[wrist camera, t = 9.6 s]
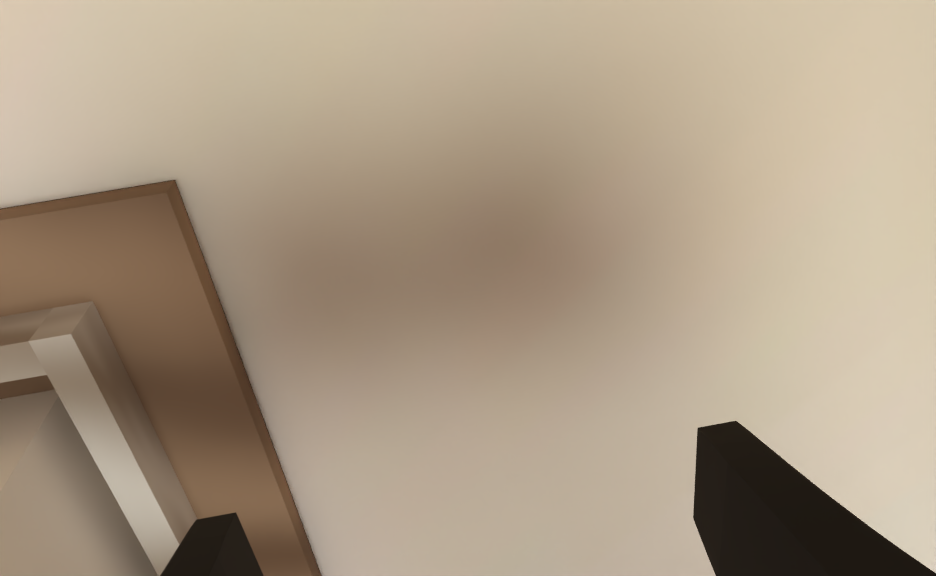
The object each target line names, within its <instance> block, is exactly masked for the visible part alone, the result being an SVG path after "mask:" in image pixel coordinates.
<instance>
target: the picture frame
mask: <svg viewBox="0 0 936 576" xmlns="http://www.w3.org/2000/svg"><path fill="white" fill-rule="evenodd" d="M50 390H56V392H57V394H58V396H59V398H60V399H61V401H62V403H63V405H64V407H65V408H66V410H67V412H68V414H69V416H70V417H71V419H72V421H73V423H74V425H75V426H76V428H77V430H78V432H79V434H80V435H81V437H82V439H83V441H84V443H85V444H86V446H87V448H88V450H89V452H90V453H91V455H92V457H93V459H94V461H95V462H96V464H97V466H98V468H99V470H100V471H101V473H102V475H103V477H104V479H105V480H106V482H107V484H108V486H109V488H110V489H111V491H112V493H113V495H114V497H115V498H116V500H117V502H118V504H119V506H120V507H121V509H122V511H123V513H124V515H125V516H126V518H127V520H128V522H129V524H130V526H131V527H132V529H133V531H134V533H135V535H136V536H137V538H138V540H139V542H140V544H141V545H142V547H143V549H144V551H145V553H146V554H147V556H148V558H149V560H150V562H151V563H152V565H153V567H154V569H155V571H156V572H157V574H158V576H160V575H161V573H162V572H163V570H164V569H165V567H166V565H167V564H168V562H169V561H170V559H171V557H172V556H173V554H174V553H175V551H176V549H177V548H178V546H179V545H180V543H181V542H182V540H183V538H184V537H185V535H186V534H187V532H188V531H189V529H190V527H191V526H192V525H193V523H194V522H195V521H196V520H197V519H202V518H208V517H213V516H219V515H224V514H230V513H235V512H236V513H237V516H238V518H239V520H240V523H241V525H242V527H243V529H244V532H245V534H246V536H247V539H248V541H249V543H250V545H251V548H252V550H253V552H254V555H255V557H256V559H257V562H258V564H259V566H260V568H261V571H262V573H263V575H264V576H321V574H320V571H319V569H318V566H317V563H316V561H315V558H314V555H313V552H312V550H311V547H310V544H309V542H308V539H307V536H306V533H305V531H304V528H303V525H302V523H301V520H300V517H299V515H298V512H297V509H296V506H295V504H294V501H293V498H292V496H291V493H290V490H289V488H288V485H287V482H286V479H285V477H284V474H283V471H282V469H281V466H280V463H279V461H278V458H277V455H276V452H275V450H274V447H273V444H272V442H271V439H270V436H269V434H268V431H267V428H266V425H265V423H264V420H263V417H262V415H261V412H260V409H259V407H258V404H257V401H256V398H255V396H254V393H253V390H252V388H251V385H250V382H249V380H248V377H247V374H246V371H245V369H244V366H243V363H242V361H241V358H240V355H239V352H238V350H237V347H236V344H235V342H234V339H233V336H232V334H231V331H230V328H229V325H228V323H227V320H226V317H225V315H224V312H223V309H222V307H221V304H220V301H219V298H218V296H217V293H216V290H215V288H214V285H213V282H212V280H211V277H210V274H209V271H208V269H207V266H206V263H205V261H204V258H203V255H202V253H201V250H200V247H199V244H198V242H197V239H196V236H195V234H194V231H193V228H192V226H191V223H190V220H189V217H188V215H187V212H186V209H185V207H184V204H183V201H182V199H181V196H180V193H179V190H178V188H177V185H176V182H175V180H173V181H167V182H161V183H155V184H149V185H143V186H137V187H131V188H125V189H119V190H113V191H107V192H101V193H95V194H89V195H83V196H77V197H71V198H65V199H59V200H53V201H47V202H41V203H35V204H29V205H23V206H17V207H11V208H5V209H0V399H5V398H11V397H16V396H22V395H28V394H33V393H39V392H45V391H50Z"/></svg>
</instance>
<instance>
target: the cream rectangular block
mask: <svg viewBox="0 0 936 576" xmlns="http://www.w3.org/2000/svg"><path fill="white" fill-rule="evenodd" d="M0 576H158V574H157V572H156V571H155V569H154V567H153V565H152V563H151V562H150V560H149V558H148V556H147V554H146V553H145V551H144V549H143V547H142V545H141V544H140V542H139V540H138V538H137V536H136V535H135V533H134V531H133V529H132V527H131V526H130V524H129V522H128V520H127V518H126V516H125V515H124V513H123V511H122V509H121V507H120V506H119V504H118V502H117V500H116V498H115V497H114V495H113V493H112V491H111V489H110V488H109V486H108V484H107V482H106V480H105V479H104V477H103V475H102V473H101V471H100V470H99V468H98V466H97V464H96V462H95V461H94V459H93V457H92V455H91V453H90V452H89V450H88V448H87V446H86V444H85V443H84V441H83V439H82V437H81V435H80V434H79V432H78V430H77V428H76V426H75V425H74V423H73V421H72V419H71V417H70V416H69V414H68V412H67V410H66V408H65V407H64V405H63V403H62V401H61V399H60V398H59V396H58V394H57V392H56V390H50V391H45V392H39V393H33V394H28V395H22V396H16V397H11V398H5V399H0Z"/></svg>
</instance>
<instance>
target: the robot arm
mask: <svg viewBox="0 0 936 576" xmlns="http://www.w3.org/2000/svg"><path fill="white" fill-rule="evenodd" d="M693 519H694V521H695V524H696V526H697V529H698V532H699V534H700V537H701V539H702V542H703V545H704V547H705V550H706V552H707V555H708V557H709V560H710V562H711V565H712V567H713V570H714V572H715V574H716V576H936V573H935V572H933V571H932V570H930V569H929V568H927V567H926V566H924V565H923V564H921V563H920V562H919V561H917V560H916V559H914V558H913V557H911V556H910V555H908V554H907V553H906V552H904V551H903V550H901V549H900V548H898V547H897V546H895V545H894V544H893V543H891V542H890V541H889V540H887V539H886V538H884V537H883V536H882V535H880V534H879V533H878V532H876V531H875V530H873V529H872V528H871V527H869V526H868V525H867V524H865V523H864V522H863V521H861V520H860V519H859V518H857V517H856V516H855V515H854V514H852V513H851V512H850V511H848V510H847V509H846V508H844V507H843V506H842V505H840V504H839V503H838V502H836V501H835V500H834V499H832V498H831V497H830V496H829V495H827V494H826V493H825V492H823V491H822V490H821V489H820V488H818V487H817V486H816V485H815V484H813V483H812V482H811V481H810V480H808V479H807V478H806V477H805V476H803V475H802V474H801V473H800V472H798V471H797V470H796V469H795V468H793V467H792V466H791V465H790V464H788V463H787V462H786V461H785V460H784V459H782V458H781V457H780V456H779V455H778V454H776V453H775V452H774V451H773V450H771V449H770V448H769V447H768V446H767V445H765V444H764V443H763V442H762V441H761V440H759V439H758V438H757V437H756V436H754V435H753V434H752V433H751V432H750V431H748V430H747V429H746V428H745V427H743V426H742V425H741V424H740V423H738V422H737V421H733V422H727V423H722V424H716V425H711V426H705V427H700V428H698V433H697V454H696V474H695V495H694V515H693ZM160 576H264V575H263V573H262V571H261V568H260V566H259V564H258V562H257V559H256V557H255V555H254V552H253V550H252V548H251V545H250V543H249V541H248V539H247V536H246V534H245V532H244V529H243V527H242V525H241V523H240V520H239V518H238V516H237V513H236V512H235V513H230V514H224V515H219V516H213V517H208V518H202V519H197V520H196V521H195V522H194V523H193V525H192V526H191V527H190V529H189V531H188V532H187V534H186V535H185V537H184V538H183V540H182V542H181V543H180V545H179V546H178V548H177V549H176V551H175V553H174V554H173V556H172V557H171V559H170V561H169V562H168V564H167V565H166V567H165V569H164V570H163V572H162V573H161V575H160Z"/></svg>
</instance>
